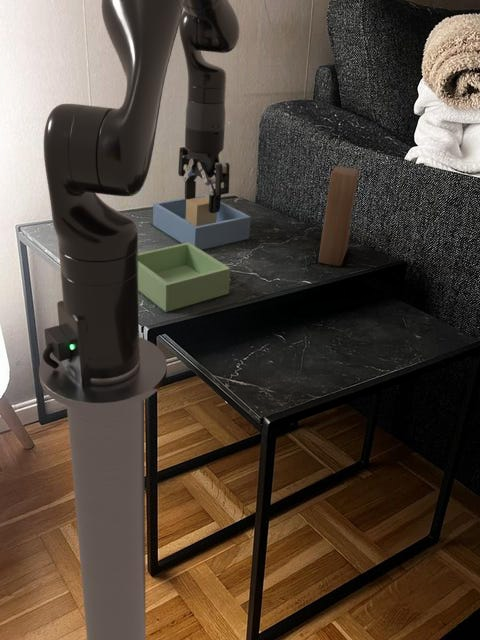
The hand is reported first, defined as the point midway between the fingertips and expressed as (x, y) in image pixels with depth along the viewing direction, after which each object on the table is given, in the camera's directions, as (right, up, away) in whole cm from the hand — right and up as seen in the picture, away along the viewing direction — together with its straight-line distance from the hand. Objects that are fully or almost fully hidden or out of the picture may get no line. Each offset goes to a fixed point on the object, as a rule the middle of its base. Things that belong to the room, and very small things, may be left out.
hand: (201, 205), depth 125 cm
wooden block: (+26, -11, -3) cm, 29 cm away
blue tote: (0, -5, +3) cm, 6 cm away
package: (0, -4, +2) cm, 5 cm away
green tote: (-3, -18, -20) cm, 27 cm away
